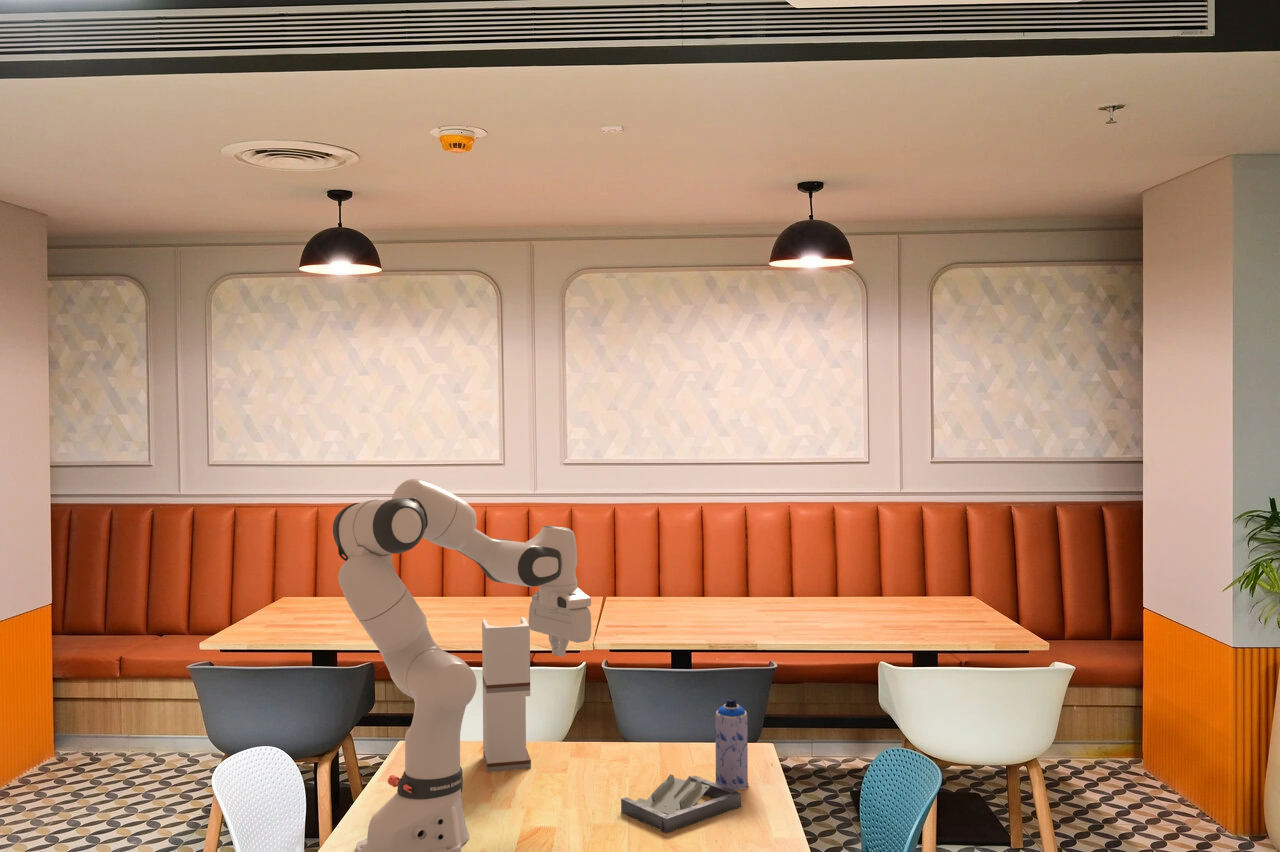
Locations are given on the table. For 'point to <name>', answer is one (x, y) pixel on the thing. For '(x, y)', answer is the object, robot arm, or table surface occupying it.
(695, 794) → the metal bracket
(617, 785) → the table surface
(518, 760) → the banded square pillar
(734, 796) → the steel u-shaped frame
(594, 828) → the table surface
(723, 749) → the aerosol can
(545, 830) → the table surface
